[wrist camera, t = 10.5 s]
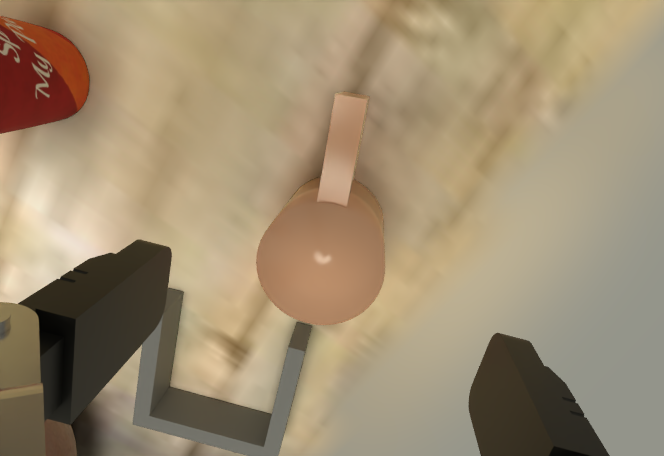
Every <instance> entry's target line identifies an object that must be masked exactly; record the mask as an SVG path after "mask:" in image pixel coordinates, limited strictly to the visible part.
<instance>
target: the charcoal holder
mask: <svg viewBox="0 0 664 456" xmlns="http://www.w3.org/2000/svg"><path fill="white" fill-rule="evenodd" d="M183 293H184V292H182V291H178V290H175V289H171V288H168V290H167V298H166V305H165V309H164V313H163V316H162V318H161V320H160V322H159V324H158V326H157V327H156V329H155V330H154V331H153V332H152V333H151V335H150V336H149V337H148V338H147V339H146V340H145V341H144V342H143V344H142V351H141V359H140V368H139V376H138V384H137V392H136V400H135V408H134V417H133V425H137V426H140V427H144V428H148V429H151V430H155V431H159V432H163V433H166V434H170V435H174V436H177V437H181V438H185V439H188V440H192V441H196V442H199V443H203V444H207V445H210V446H214V447H218V448H221V449H225V450H229V451H232V452H236V453H240V454H243V455H247V456H278V455H279V451H280V448H281V444H282V440H283V436H284V433H285V429H286V425H287V421H288V417H289V413H290V410H291V406H292V402H293V398H294V394H295V390H296V386H297V382H298V379H299V375H300V371H301V367H302V363H303V359H304V355H305V351H306V348H307V344H308V340H309V336H310V332H311V328H312V326H310V325H306V324H303V323H299V322H297V323H296V326H295V329H294V332H293V335H292V338H291V341H290V343H289V346H288V350H287V354H286V358H285V363H284V367H283V371H282V375H281V379H280V383H279V387H278V391H277V395H276V400H275V404H274V408H273V412H272V414H268V413H264V412H261V411H257V410H253V409H249V408H246V407H242V406H238V405H235V404H231V403H227V402H224V401H220V400H216V399H212V398H209V397H205V396H201V395H198V394H194V393H190V392H186V391H183V390H179V389H175V388H172V387H169V386H170V380H171V373H172V366H173V359H174V353H175V346H176V339H177V333H178V326H179V319H180V313H181V306H182V299H183Z"/></svg>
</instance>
